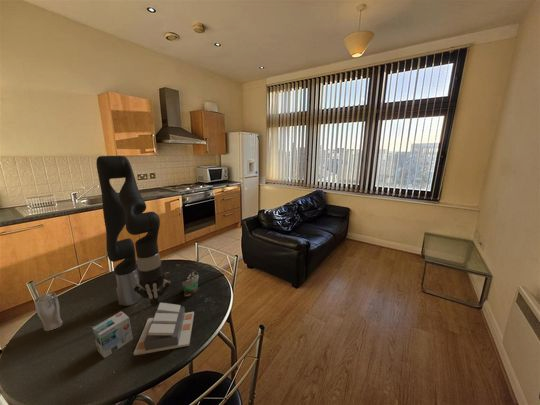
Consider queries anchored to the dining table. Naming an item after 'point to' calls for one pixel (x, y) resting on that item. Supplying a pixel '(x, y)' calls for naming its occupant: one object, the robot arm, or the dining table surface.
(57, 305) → the beer glass
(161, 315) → the rocker middle
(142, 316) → the dining table surface
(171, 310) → the rocker back
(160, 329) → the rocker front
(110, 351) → the light bulb box
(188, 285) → the food container
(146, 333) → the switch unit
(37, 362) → the dining table surface
